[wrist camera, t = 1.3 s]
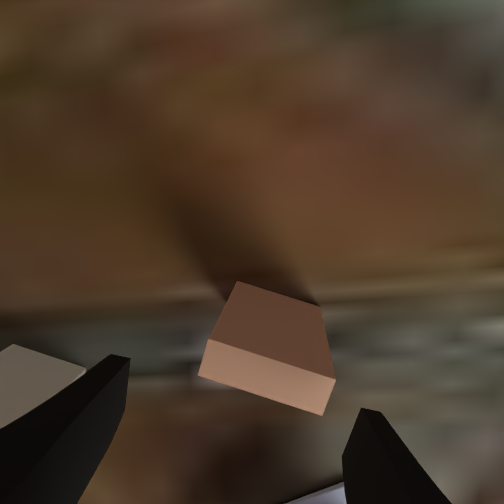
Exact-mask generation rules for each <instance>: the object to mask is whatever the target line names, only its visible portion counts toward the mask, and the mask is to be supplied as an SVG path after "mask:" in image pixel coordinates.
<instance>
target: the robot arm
mask: <svg viewBox="0 0 504 504" xmlns="http://www.w3.org/2000/svg"><path fill="white" fill-rule="evenodd" d="M130 359H131V358H127V357H122V356H117V355H113V354H110V355H109V356H107V357H106V358H104V359H103V360H102V361H100V362H99V363H98V364H97V365H95V366H94V367H93V368H91V369H90V370H89V371H87V372H86V373H85V374H83V375H82V376H81V377H79V378H78V379H77V380H75V381H74V382H72V383H71V384H69V385H68V386H67V387H65V388H64V389H62V390H61V391H60V392H58V393H57V394H55V395H54V396H52V397H51V398H49V399H48V400H46V401H45V402H43V403H42V404H40V405H39V406H37V407H35V408H34V409H32V410H31V411H29V412H28V413H26V414H24V415H23V416H21V417H20V418H18V419H16V420H14V421H13V422H11V423H9V424H8V425H6V426H4V427H2V428H1V429H0V504H77V503H78V501H79V499H80V497H81V496H82V494H83V492H84V490H85V488H86V487H87V485H88V483H89V481H90V479H91V478H92V476H93V474H94V472H95V471H96V469H97V467H98V465H99V463H100V462H101V460H102V458H103V456H104V454H105V453H106V451H107V449H108V447H109V445H110V443H111V441H112V439H113V437H114V434H115V432H116V430H117V428H118V425H119V423H120V420H121V418H122V415H123V413H124V411H125V403H126V394H127V385H128V376H129V368H130ZM342 466H343V480H344V482H341V483H339V484H336V485H333V486H331V487H328V488H325V489H323V490H320V491H317V492H314V493H312V494H309V495H306V496H304V497H301V498H298V499H296V500H293V501H290V502H288V503H285V504H452V503H451V502H450V501H449V500H448V499H447V498H446V496H445V495H444V494H443V493H442V492H441V490H440V489H439V488H438V487H437V486H436V484H435V483H434V482H433V481H432V479H431V478H430V477H429V476H428V474H427V473H426V472H425V470H424V469H423V468H422V467H421V465H420V464H419V463H418V461H417V460H416V459H415V457H414V456H413V455H412V453H411V452H410V451H409V449H408V448H407V447H406V445H405V444H404V443H403V441H402V440H401V439H400V437H399V436H398V434H397V433H396V432H395V430H394V429H393V428H392V426H391V425H390V424H389V422H388V421H387V420H386V418H385V417H384V416H383V414H382V413H381V412H379V411H374V410H369V409H365V408H361V409H360V412H359V414H358V417H357V419H356V422H355V425H354V427H353V430H352V432H351V435H350V437H349V440H348V442H347V445H346V447H345V450H344V452H343V455H342Z"/></svg>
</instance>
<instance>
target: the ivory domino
mask: <svg viewBox="0 0 504 504" xmlns="http://www.w3.org/2000/svg"><path fill="white" fill-rule="evenodd" d="M85 372H86V368H85V367H82V366H79V365H76V364H73V363H70V362H67V361H64V360H60V359H57V358H54V357H51V356H48V355H45V354H42V353H39V352H36V351H33V350H30V349H27V348H24V347H21V346H18V345H15V344H12V345H10V346H9V347H7V348H6V349H4V350H2V351H1V352H0V429H1V428H2V427H4V426H6V425H8V424H9V423H11V422H13V421H14V420H16V419H18V418H20V417H21V416H23V415H24V414H26V413H28V412H29V411H31V410H32V409H34V408H35V407H37V406H39V405H40V404H42V403H43V402H45V401H46V400H48V399H49V398H51V397H52V396H54V395H55V394H57V393H58V392H60V391H61V390H62V389H64V388H65V387H67V386H68V385H69V384H71V383H72V382H74V381H75V380H77V379H78V378H79V377H81V376H82V375H83V374H85Z"/></svg>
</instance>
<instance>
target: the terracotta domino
mask: <svg viewBox="0 0 504 504" xmlns="http://www.w3.org/2000/svg"><path fill="white" fill-rule="evenodd" d="M198 376H201V377H204V378H208V379H211V380H214V381H217V382H220V383H223V384H226V385H229V386H232V387H235V388H238V389H241V390H244V391H247V392H250V393H254V394H257V395H260V396H263V397H266V398H269V399H272V400H275V401H278V402H281V403H284V404H287V405H290V406H293V407H296V408H300V409H303V410H306V411H309V412H312V413H315V414H318V415H321V416H322V415H323V412H324V410H325V407H326V405H327V402H328V399H329V397H330V394H331V392H332V389H333V387H334V384H335V381H336V377H335V373H334V368H333V363H332V359H331V354H330V350H329V345H328V341H327V336H326V332H325V327H324V322H323V318H322V313H321V309H320V307H319V306H316V305H313V304H310V303H307V302H303V301H300V300H297V299H294V298H291V297H288V296H284V295H281V294H278V293H275V292H272V291H269V290H265V289H262V288H259V287H256V286H253V285H250V284H246V283H243V282H240V281H237V282H236V284H235V286H234V288H233V290H232V292H231V294H230V296H229V298H228V300H227V302H226V304H225V306H224V308H223V310H222V312H221V315H220V317H219V319H218V321H217V323H216V325H215V327H214V329H213V331H212V333H211V335H210V337H209V339H208V342H207V346H206V349H205V353H204V356H203V359H202V363H201V366H200V370H199V373H198Z"/></svg>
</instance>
